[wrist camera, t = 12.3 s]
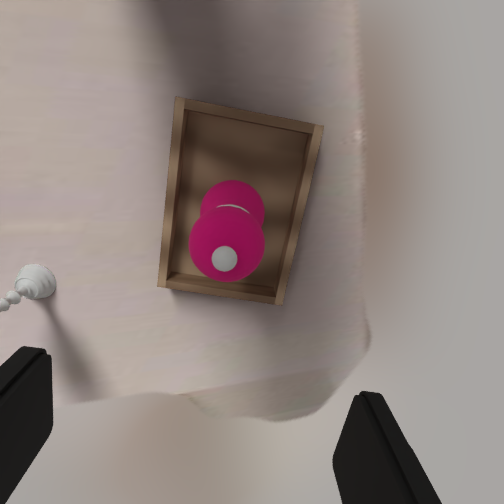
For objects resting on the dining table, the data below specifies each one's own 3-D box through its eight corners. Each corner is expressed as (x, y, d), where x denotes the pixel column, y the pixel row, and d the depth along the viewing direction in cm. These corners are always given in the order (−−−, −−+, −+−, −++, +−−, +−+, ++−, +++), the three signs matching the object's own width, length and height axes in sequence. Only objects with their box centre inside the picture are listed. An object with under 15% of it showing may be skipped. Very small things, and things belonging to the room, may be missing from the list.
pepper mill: (274, 203, 41) (299, 259, 22) (236, 244, 42) (229, 329, 24) (230, 163, 39) (217, 186, 20) (193, 207, 41) (147, 267, 22)
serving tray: (182, 100, 38) (175, 96, 34) (316, 127, 39) (324, 125, 35) (164, 274, 45) (157, 286, 41) (278, 291, 46) (282, 305, 42)
